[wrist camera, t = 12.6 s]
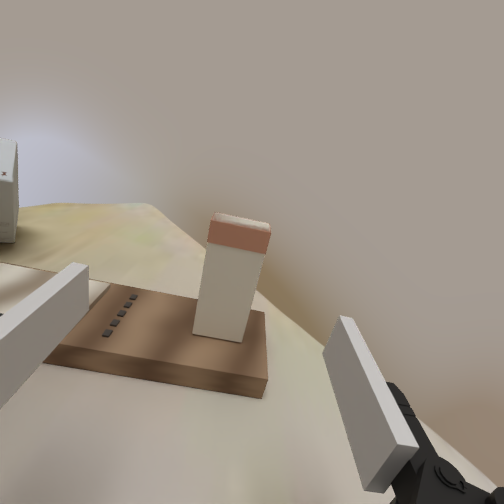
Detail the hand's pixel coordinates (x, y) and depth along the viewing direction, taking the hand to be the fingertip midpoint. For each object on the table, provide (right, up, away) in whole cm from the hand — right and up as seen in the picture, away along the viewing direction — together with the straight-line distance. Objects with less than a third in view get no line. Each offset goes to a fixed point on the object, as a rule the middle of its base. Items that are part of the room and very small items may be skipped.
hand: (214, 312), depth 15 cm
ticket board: (-13, -5, +14) cm, 20 cm away
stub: (-2, -5, +14) cm, 15 cm away
